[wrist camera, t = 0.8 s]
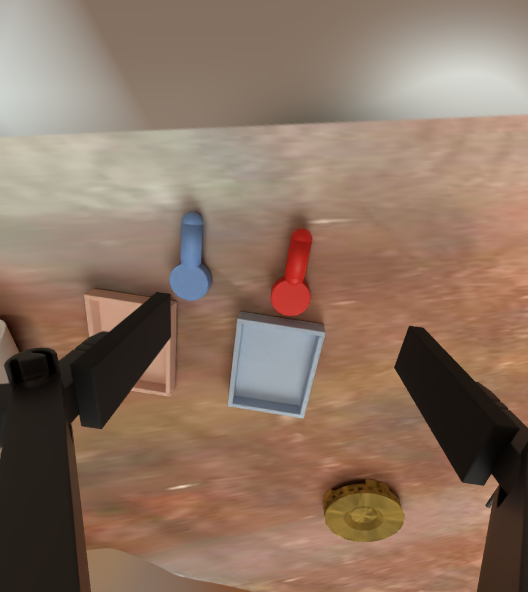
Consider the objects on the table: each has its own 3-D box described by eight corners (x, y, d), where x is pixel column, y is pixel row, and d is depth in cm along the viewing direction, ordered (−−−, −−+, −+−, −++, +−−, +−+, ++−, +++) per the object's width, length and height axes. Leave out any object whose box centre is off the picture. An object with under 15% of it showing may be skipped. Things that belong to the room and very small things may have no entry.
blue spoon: (175, 208, 29) (167, 209, 27) (216, 214, 29) (211, 216, 27) (174, 292, 33) (167, 299, 31) (210, 298, 33) (205, 305, 31)
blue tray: (240, 311, 33) (237, 318, 32) (323, 324, 33) (325, 332, 31) (230, 395, 38) (227, 406, 37) (302, 407, 38) (303, 418, 36)
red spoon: (282, 224, 29) (282, 227, 27) (323, 230, 29) (326, 233, 27) (269, 307, 33) (267, 315, 31) (305, 312, 33) (306, 321, 31)
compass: (310, 490, 44) (312, 504, 42) (383, 470, 42) (388, 484, 40) (340, 532, 48) (342, 548, 46) (409, 517, 45) (415, 532, 43)
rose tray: (94, 288, 34) (83, 294, 32) (176, 301, 34) (170, 308, 32) (104, 375, 39) (95, 384, 37) (175, 386, 39) (169, 396, 37)
